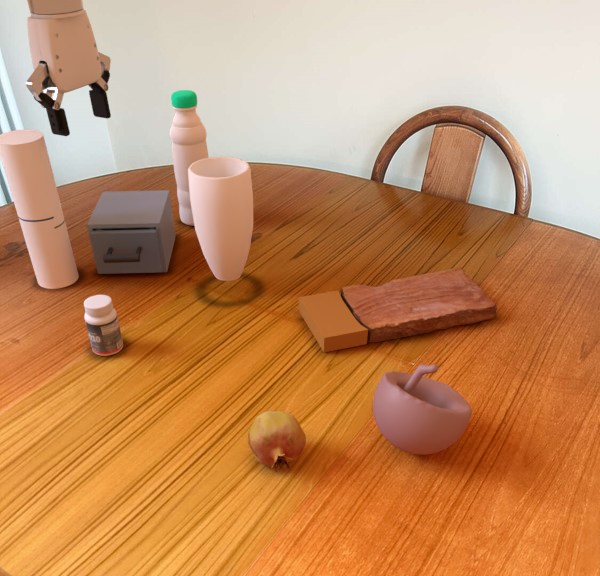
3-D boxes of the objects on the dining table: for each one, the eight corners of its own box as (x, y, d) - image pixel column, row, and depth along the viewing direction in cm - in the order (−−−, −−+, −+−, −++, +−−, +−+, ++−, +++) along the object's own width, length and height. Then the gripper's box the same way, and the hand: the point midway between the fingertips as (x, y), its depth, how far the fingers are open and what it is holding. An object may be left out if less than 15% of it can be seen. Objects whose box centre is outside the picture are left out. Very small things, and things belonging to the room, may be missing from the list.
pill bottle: (86, 347, 102) (74, 300, 96) (114, 335, 104) (103, 289, 99) (101, 360, 99) (90, 313, 94) (129, 348, 101) (119, 301, 96)
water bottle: (220, 216, 138) (209, 89, 122) (203, 229, 133) (189, 99, 118) (192, 210, 141) (177, 85, 125) (173, 223, 136) (156, 95, 120)
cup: (257, 304, 111) (250, 179, 97) (196, 305, 111) (180, 180, 97) (260, 274, 119) (254, 154, 105) (203, 275, 119) (189, 155, 105)
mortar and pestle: (481, 441, 85) (498, 371, 77) (425, 490, 78) (437, 418, 71) (408, 399, 91) (417, 330, 84) (350, 440, 85) (355, 370, 78)
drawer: (158, 284, 115) (152, 243, 110) (93, 286, 114) (83, 245, 109) (170, 239, 128) (165, 200, 123) (112, 240, 128) (104, 201, 123)
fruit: (236, 400, 82) (245, 454, 75) (289, 383, 82) (303, 435, 75) (253, 438, 87) (263, 492, 79) (302, 422, 87) (317, 475, 79)
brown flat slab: (298, 311, 109) (297, 294, 107) (458, 282, 116) (461, 266, 114) (324, 354, 100) (324, 336, 98) (497, 320, 107) (501, 303, 105)
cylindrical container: (31, 277, 119) (-12, 136, 103) (68, 265, 122) (32, 126, 106) (47, 293, 114) (5, 147, 98) (85, 279, 118) (50, 137, 102)
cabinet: (167, 272, 120) (159, 223, 114) (97, 274, 120) (86, 224, 113) (175, 236, 131) (169, 190, 125) (112, 238, 131) (102, 191, 125)
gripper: (76, -8, 102) (100, 108, 113) (-10, 11, 90) (25, 138, 101) (114, -5, 99) (134, 113, 110) (30, 15, 87) (62, 145, 98)
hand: (82, 125), depth 106 cm, fingers open, 9 cm apart
